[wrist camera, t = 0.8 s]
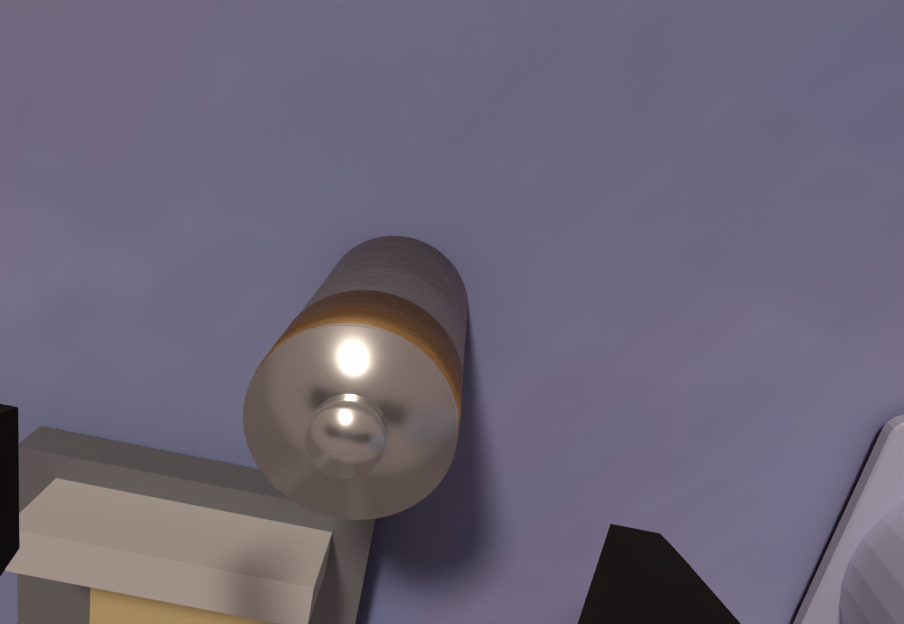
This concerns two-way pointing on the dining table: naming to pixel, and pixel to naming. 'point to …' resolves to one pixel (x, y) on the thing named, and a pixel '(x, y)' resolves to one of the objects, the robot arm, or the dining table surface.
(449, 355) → the cell
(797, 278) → the dining table surface
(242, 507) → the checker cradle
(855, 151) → the dining table surface
